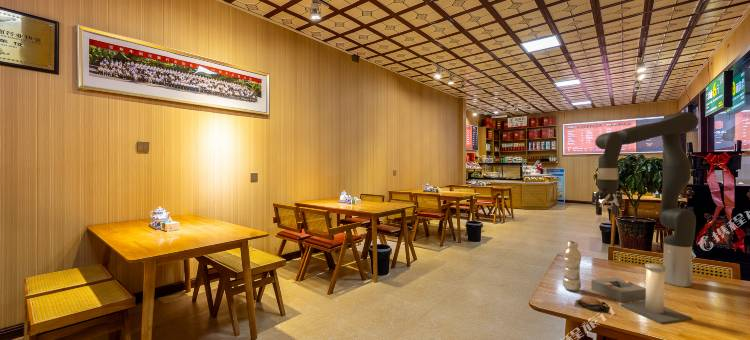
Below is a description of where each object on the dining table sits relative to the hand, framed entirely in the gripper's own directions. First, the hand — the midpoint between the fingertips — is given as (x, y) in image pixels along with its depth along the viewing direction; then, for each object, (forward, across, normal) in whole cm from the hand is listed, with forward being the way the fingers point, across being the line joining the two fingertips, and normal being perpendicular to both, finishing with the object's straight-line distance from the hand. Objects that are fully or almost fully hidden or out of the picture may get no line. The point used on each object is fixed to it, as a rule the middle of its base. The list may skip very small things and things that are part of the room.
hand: (606, 214), depth 146 cm
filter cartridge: (+30, -10, -28) cm, 42 cm away
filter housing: (+30, -7, -12) cm, 33 cm away
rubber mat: (+30, -10, -28) cm, 42 cm away
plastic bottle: (+30, -22, -4) cm, 38 cm away
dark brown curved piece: (+31, -28, -19) cm, 46 cm away
